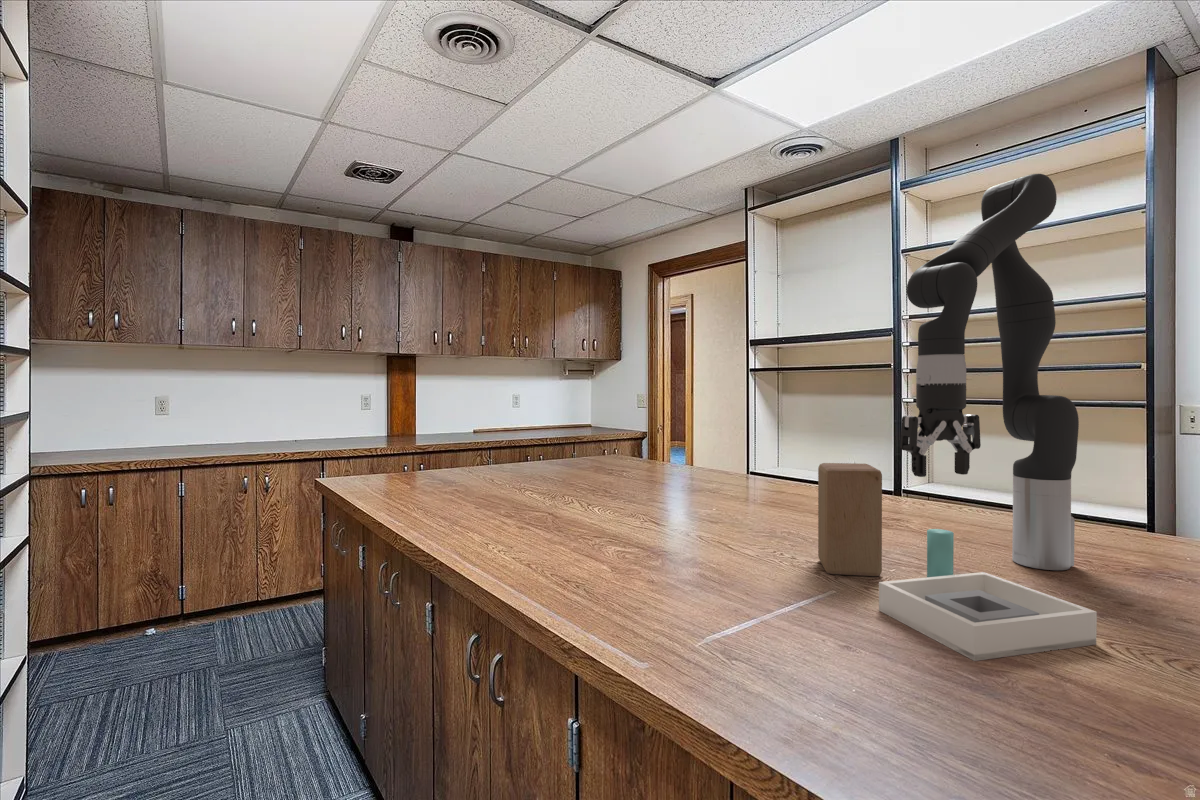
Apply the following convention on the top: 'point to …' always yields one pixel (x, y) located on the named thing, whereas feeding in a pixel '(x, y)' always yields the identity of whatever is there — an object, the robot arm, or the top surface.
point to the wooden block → (850, 519)
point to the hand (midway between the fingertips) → (940, 475)
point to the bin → (987, 615)
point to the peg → (940, 552)
